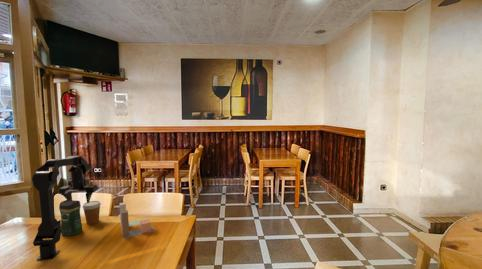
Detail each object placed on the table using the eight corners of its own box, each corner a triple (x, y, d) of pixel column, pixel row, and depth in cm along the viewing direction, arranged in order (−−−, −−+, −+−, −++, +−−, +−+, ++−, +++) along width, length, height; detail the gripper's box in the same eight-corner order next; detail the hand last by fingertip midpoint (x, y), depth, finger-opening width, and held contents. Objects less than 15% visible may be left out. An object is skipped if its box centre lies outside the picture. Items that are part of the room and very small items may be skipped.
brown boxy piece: (123, 240, 127) (122, 214, 125) (122, 234, 133) (121, 209, 131) (155, 232, 135) (154, 208, 133) (152, 227, 141) (151, 204, 139)
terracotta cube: (141, 233, 132) (141, 224, 131) (140, 229, 136) (139, 220, 136) (151, 231, 134) (150, 222, 134) (149, 227, 139) (149, 218, 138)
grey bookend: (121, 230, 138) (120, 206, 136) (120, 225, 144) (119, 202, 142) (151, 223, 146) (150, 200, 144) (148, 219, 152) (148, 197, 150)
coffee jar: (85, 230, 138) (83, 198, 137) (73, 237, 131) (70, 203, 129) (70, 228, 140) (68, 197, 138) (58, 235, 132) (55, 202, 131)
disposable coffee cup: (79, 224, 145) (78, 205, 144) (93, 218, 154) (92, 199, 153) (92, 226, 142) (90, 207, 141) (105, 220, 151) (104, 201, 150)
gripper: (101, 172, 147) (103, 197, 149) (68, 173, 145) (71, 198, 147) (91, 178, 136) (94, 205, 138) (56, 179, 134) (59, 206, 136)
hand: (79, 203), depth 140 cm, fingers open, 9 cm apart
